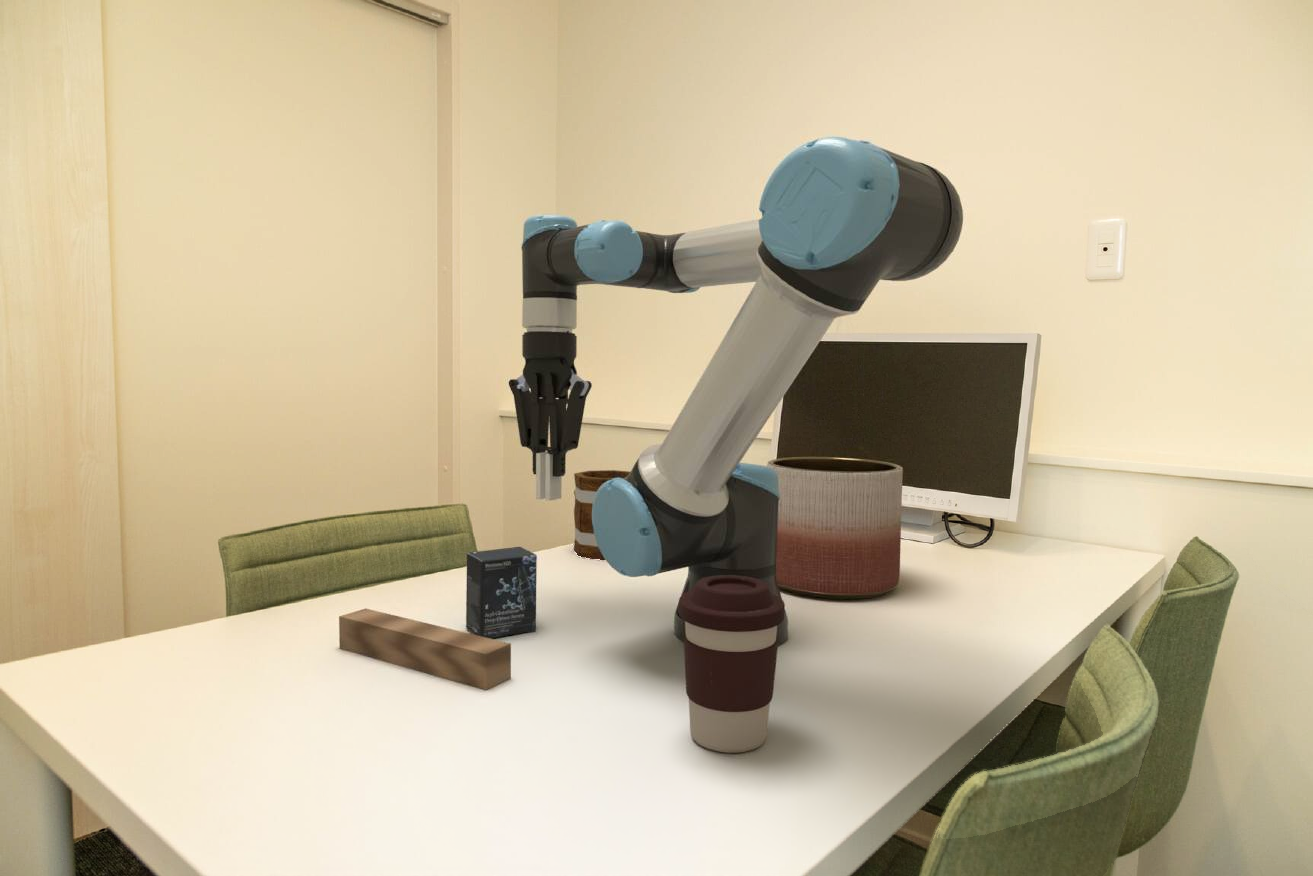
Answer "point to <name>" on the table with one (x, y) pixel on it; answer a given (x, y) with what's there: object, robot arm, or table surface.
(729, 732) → the coffee cup
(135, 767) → the table surface
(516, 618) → the box
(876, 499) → the planter
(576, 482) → the mug
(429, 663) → the brown wooden bar
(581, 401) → the robot arm
